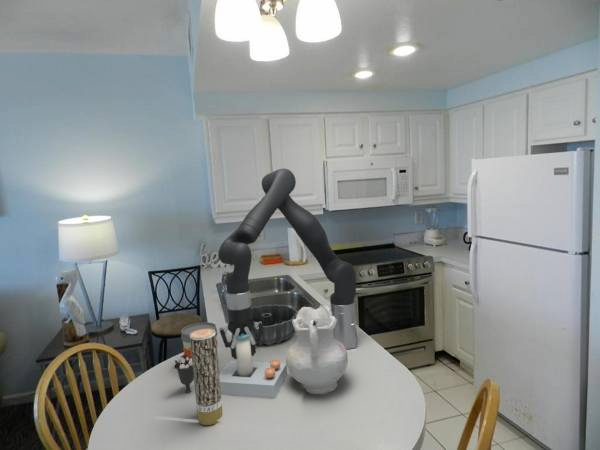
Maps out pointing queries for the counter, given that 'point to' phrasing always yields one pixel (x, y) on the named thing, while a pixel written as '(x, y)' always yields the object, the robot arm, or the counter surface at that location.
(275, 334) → the bundt pan
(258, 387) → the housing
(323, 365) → the ceramic pitcher
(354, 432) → the counter surface
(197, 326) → the reusable coffee cup
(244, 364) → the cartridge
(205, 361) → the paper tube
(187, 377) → the sundae
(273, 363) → the plunger
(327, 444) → the counter surface
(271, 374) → the plunger
